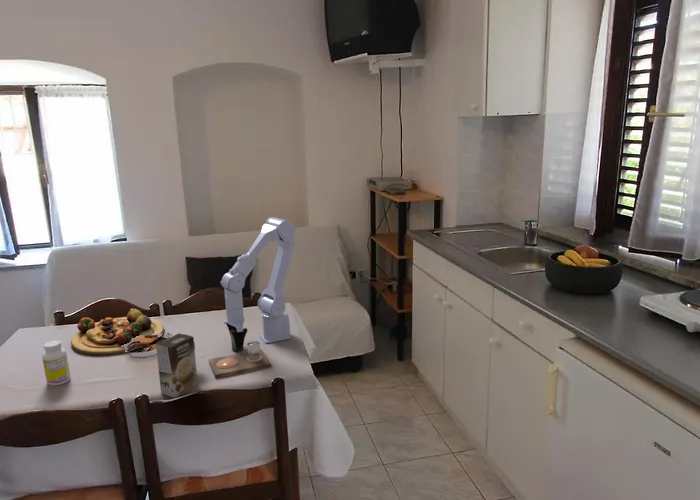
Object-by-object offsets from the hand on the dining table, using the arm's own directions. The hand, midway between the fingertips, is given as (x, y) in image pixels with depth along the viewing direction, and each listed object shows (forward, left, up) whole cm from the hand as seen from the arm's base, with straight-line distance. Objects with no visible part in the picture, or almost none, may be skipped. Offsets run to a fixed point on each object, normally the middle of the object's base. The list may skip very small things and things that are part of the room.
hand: (237, 343), depth 191 cm
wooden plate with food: (+38, -31, -3) cm, 49 cm away
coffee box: (+22, +20, -2) cm, 30 cm away
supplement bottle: (+56, -2, -2) cm, 56 cm away
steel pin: (0, 0, -2) cm, 2 cm away
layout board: (+2, +12, -2) cm, 12 cm away
